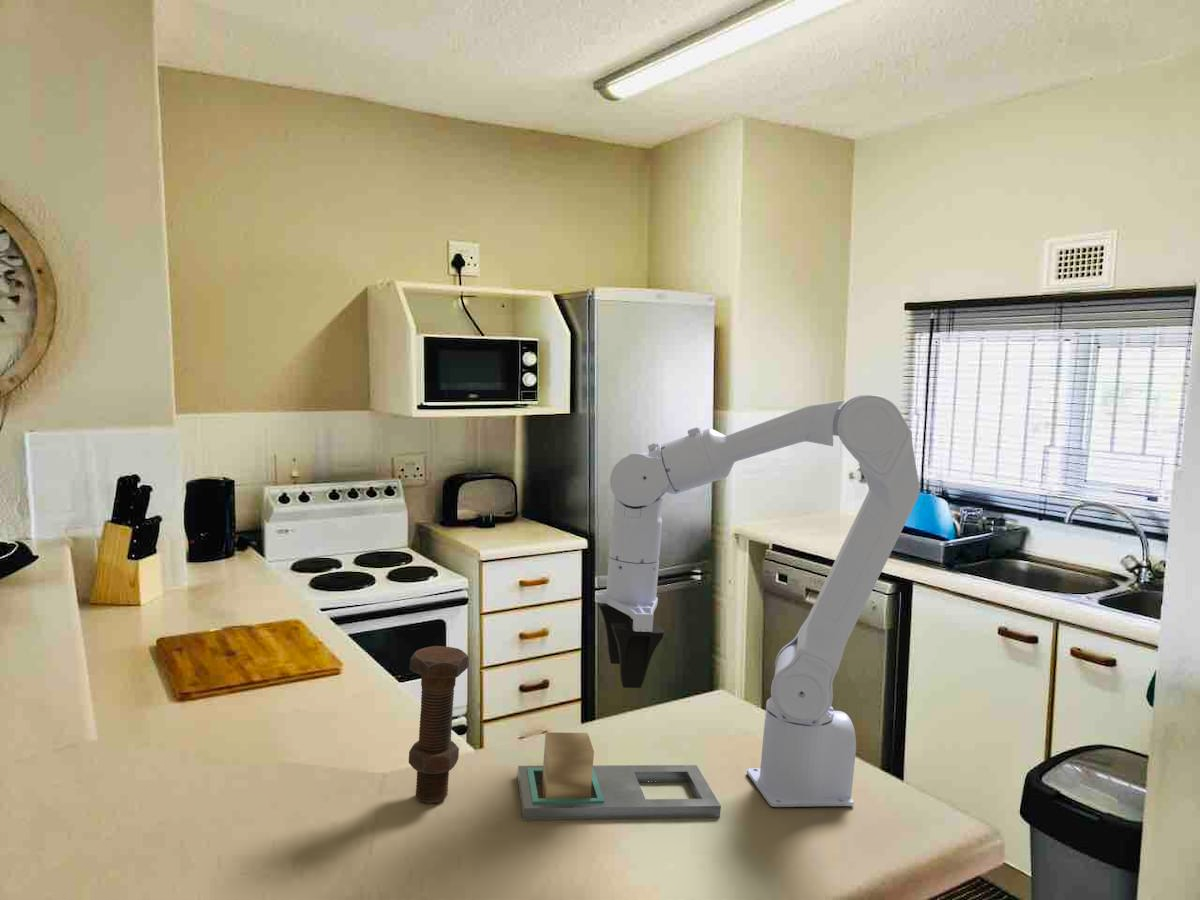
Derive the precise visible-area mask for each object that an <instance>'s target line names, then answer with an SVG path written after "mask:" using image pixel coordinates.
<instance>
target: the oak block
mask: <svg viewBox="0 0 1200 900" xmlns="http://www.w3.org/2000/svg"><path fill="white" fill-rule="evenodd" d="M544 738H545V739H544V748H543V749H544V750H543V764H542V766H543V776H542V783H541V789H543V791H542V795H544V796H543V798H592V795H591V785H592V772H593V766H594V757H595V756H594V755H595V750H594V747H593V745H592V742H591V738H590V735H589V733H588V732H550V731H549V732H545V737H544Z"/></svg>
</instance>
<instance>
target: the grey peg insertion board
mask: <svg viewBox="0 0 1200 900" xmlns="http://www.w3.org/2000/svg"><path fill="white" fill-rule="evenodd" d="M542 776H543V765H518V767H517V782H518V789H519V796H520V805H521V810H522V811H521V813H522V819H523V821H543V820H544V821H545V820H546V821H549V820H550V821H553V820H554V821H555V820H557V821H558V820H559V821H560V820H562V821H565V820H566V821H567V820H616V819H617V820H619V819H622V820H623V819H628V820H629V819H630V820H631V819H687V818H688V819H691V818H693V819H696V818H697V819H699V818H700V819H701V818H703V819H704V818H721V807H722V806H721V804H720V802H719V800H718V799H717V797H716V795H715V794H714V792H713V790H712V788H711V786H710V785H709V783H708V782H707V780H706V779H705V777H704V775H703V774H702V772H701V770H700V768H699V767H698V765H697V764H692V765H691V764H689V765H688V764H685V765H684V764H681V765H680V764H679V765H677V764H662V765H661V764H660V765H659V764H654V765H653V764H651V765H650V764H648V765H646V764H645V765H644V764H643V765H640V764H639V765H637V764H636V765H632V764H631V765H629V764H628V765H616V764H615V765H609V764H607V765H603V764H602V765H593V772H592V785H591V798H544V797H543V798H539V795H538V794H539V793H538V789H537V784H541V783H540V782H542ZM648 781H649V782H648ZM651 781H652V782H651ZM655 781H656V782H655ZM640 783H686V784H687V785H688V788H689V789H690V792H691V794H692V796H693V797H694V798H658V799H657V798H656V799H655V798H654V799H653V798H649V799H647V798H646V796H645V794H644V792H643V789H642V788H641V785H640Z"/></svg>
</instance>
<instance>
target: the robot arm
mask: <svg viewBox="0 0 1200 900" xmlns="http://www.w3.org/2000/svg"><path fill="white" fill-rule="evenodd" d="M843 403H844V404H843ZM842 404H843V405H842ZM839 408H840V409H839ZM687 434H688V435H687V436H684V437H680V438H677V439H675V440H672V441H668V442H666V443H662V444H659V443H658V442H654V443H650V444H648V445H647V449H648V452H645V451H643V452H638V453H637V452H633V453H630V454H628V455H627V456H624V457H623V458H621V459H620V460H618V462H617V463H615V465H614V466H613V468H612V470H611V472H610V477H609V485H610V489H611V491H612V494H613V495H614V497H613V498H614V499H613V515H612V516H611V527H610V538H609V541H610V542H609V553H608V554H609V555H608V566H607V581H606V591H605V592H596V593H595V601H596V602H597V605H598V608H599V609H600V613H601V615H602V618H603V622H604V627H605V633H606V642H607V643H606V644H607V649H608V650H607V651H608V652H607V653H608V657H609V658H608V659H609V662H610V664H611V665H617V664H618V665H619V674H620V682H621V686H622V688H624V689H625V688H626V689H640V688H642V686H643V684H644V681H645V679H646V674H647V671H648V668H649V666H650V662H651V659H652V656H653V654H654V652H655V650H656V649H657V646H658V645H659V644H660V642H661V641H662V639H663V638H664V636H665V630H664V629H663V627H662V626H654V615H655V614H654V612H655V611H656V609H657V606H658V600H659V597H658V596H657V595H658V594H657V591H658V580H659V568H660V566H659V565H660V556H661V555H660V553H661V544H662V543H661V540H662V531H663V530H662V527H663V520H662V519H663V518H662V512H663V500H664V499H663V496H664V495H665V494H666V493H668V494H671V495H677V494H679V493H683V492H686V491H690V490H692V489H695V488H699V487H701V486H705V485H708V484H710V483H714V482H717V481H719V480H723V479H726V478H727V477H728V476H729V474H730V473H731V471H732V468H733V466H734V465H735V464H736V463H735V462H739V461H742V460H745V459H749V458H752V457H757V456H759V455H763V454H766V453H769V452H773V451H776V450H779V449H783V448H786V447H789V446H792V445H795V444H801V443H804V442H809V443H814V444H819V445H823V446H824V445H825V446H829V447H833V446H834V436H836V437H838V438H839V440H840V442H841V443H842V445H844V447H845V448H846V450H847V451H848V452H849V453H850V455H851V456H852V457H853V458H854V459H855V460H856V461H857V462H858V466H859V469H860V471H861V473H862V475H863V478H864V479H865V481H866V485H867V486H868V492H867V494H866V496H865V498H864V500H863V502H862V504H861V506H860V509H859V510H858V512H857V515H856V517H855V519H854V520H853V523H852V525H851V527H850V529H849V531H848V534H847V535H846V537H845V539H844V540H843V544H842V546H841V547H840V550H839V552H838V554H837V556H836V558H835V560H834V562H833V564H832V566H831V568H830V570H829V573H828V575H827V577H826V578H825V581H824V583H823V585H822V587H821V589H820V591H819V592H818V595H817V597H816V599H815V602H814V603H813V605H812V608H811V609H810V612H809V613H808V615H807V618H806V619H805V620H804V622H803V623H802V625H801V626H800V628H799V629H798V632H797V633H796V636H795V637H794V638H793V639H792V640H791V641H790V642H788V643H787V644H786V645H784V646H783V647H782V648H781V649H780V650H779V651H778V653H777V655H776V657H775V661H774V670H775V672H774V677H773V678H772V681H771V682H772V683H771V685H770V686H771V687H770V695H771V696H770V697H768V699H766V704H765V705H766V707H765V716H764V717H765V718H764V727H763V736H762V749H761V757H760V758H761V760H760V767H750V768H747V769H746V774H747V775H748V776H749V778H750V779H751V781H752V782H753V784H754V785H755V786H756V788H757V790H758V791H759V792H760V794H761V796H763V798H764V799H765V801H766V802H767V804H768V805H769V806H770V807H773V808H785V807H787V808H789V807H793V808H795V807H799V808H800V807H803V808H804V807H853V806H855V805H854V804H855V801H854V799H853V798H852V794H853V791H852V790H853V783H854V771H855V762H856V752H857V739H856V737H857V736H856V731H855V727H854V724H853V722H852V719H851V718H850V717H849V715H848V714H847V713H846V712H844V711H841V710H834V707H833V706H832V704H833V700H834V690H833V689H834V688H833V683H834V680H835V677H836V674H837V672H838V670H839V668H840V664H841V661H842V658H843V655H844V651H845V648H846V646H847V645H846V644H847V642H848V640H849V638H850V636H851V634H852V633H853V630H854V629H855V626H856V624H857V623H858V620H859V618H860V616H861V614H862V612H863V610H864V608H865V607H866V604H867V602H868V600H869V598H870V596H871V593H872V592H873V590H874V588H875V586H876V584H877V581H878V579H879V577H880V575H881V573H882V572H883V569H884V567H885V565H886V564H887V562H888V559H889V557H890V555H891V553H892V551H893V550H894V548H895V546H896V543H897V541H898V540H899V538H900V535H901V533H902V531H903V529H904V527H905V525H906V523H907V520H909V519H908V518H909V517H910V515H911V513H912V510H913V508H914V507H915V504H916V503H917V501H918V499H919V495H920V493H921V492H920V490H921V489H920V481H919V476H918V469H917V465H916V464H917V463H916V457H915V453H914V446H913V433H912V431H911V428H910V427H909V424H908V423H907V421H906V420H905V418H904V416H903V415H902V413H901V411H900V410H899V408H898V407H897V406H896V405H895V403H894V402H892V401H891V400H889V399H888V398H886V397H884V396H881V395H877V394H863V395H861V394H860V395H857V396H854V397H851V398H849V400H847V401H846V402H845V399H841V400H835V401H828V402H824V403H817V404H816V403H815V404H811V405H808V406H804V407H801V408H798V409H796V410H793V411H790V412H788V413H785V414H782V415H779V416H777V417H774V418H770V419H769V420H766V421H763V422H761V423H758V424H756V425H755V424H754V425H751V426H750V427H747V428H744V429H740V430H739V431H735V432H732V433H730V434H723V433H721V432H719V431H717V430H715V429H714V428H706V429H704V430H702V429H701V426H697V427H694V428H691V429H688V430H687Z"/></svg>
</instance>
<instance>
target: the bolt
mask: <svg viewBox="0 0 1200 900" xmlns="http://www.w3.org/2000/svg"><path fill="white" fill-rule="evenodd" d="M469 658H470V657H469V655H468V654H467V653H466V652H465V651H464V650H462V649H460V648H457V647H452V646H443V645H433V646H427V647H423V648H420V649H417V650H416V651H415V652H414V653H413V654H412V656H411V657H410V659H409V671H411V672H413V673H415V674H417V675H419V676H421V677H420V678H421V679H420V680H421V681H420V683H421V684H420V685H421V691H420V694H421V696H420V700H421V701H420V713H419V714H420V717H419V719H420V720H419V731H418V732H419V733H418V741H416V742H414V744H413V745H412V746H411V748H410V750H409V752H408V764H409V765H410V766H411V767H412V768H413V769H414V770H415V771H416V783H415V784H416V785H415V786H416V787H415V798H416V799H417V800H419V802H422V803H427V804H437V803H441V802H443V801H444V800H445V799H446V798H447V796H448V795H449V794H448V793H449V776H450V773H449V772H450V771H451V770H452V769H453V768H454V767H455V766H456V765H457V762H458V760H459V753H460V752H459V751H460V748H459V747H458V745H457V744H456V743H455V742H454V741H452V727H453V725H452V724H453V714H454V713H453V712H454V697H455V696H454V695H455V693H454V692H455V687H456V683H457V682H456V681H457V680H456V679H457V678H458V677H459V676H460V675H461V674H462V673H464V672H465V671H466V670H468V668H469Z"/></svg>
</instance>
